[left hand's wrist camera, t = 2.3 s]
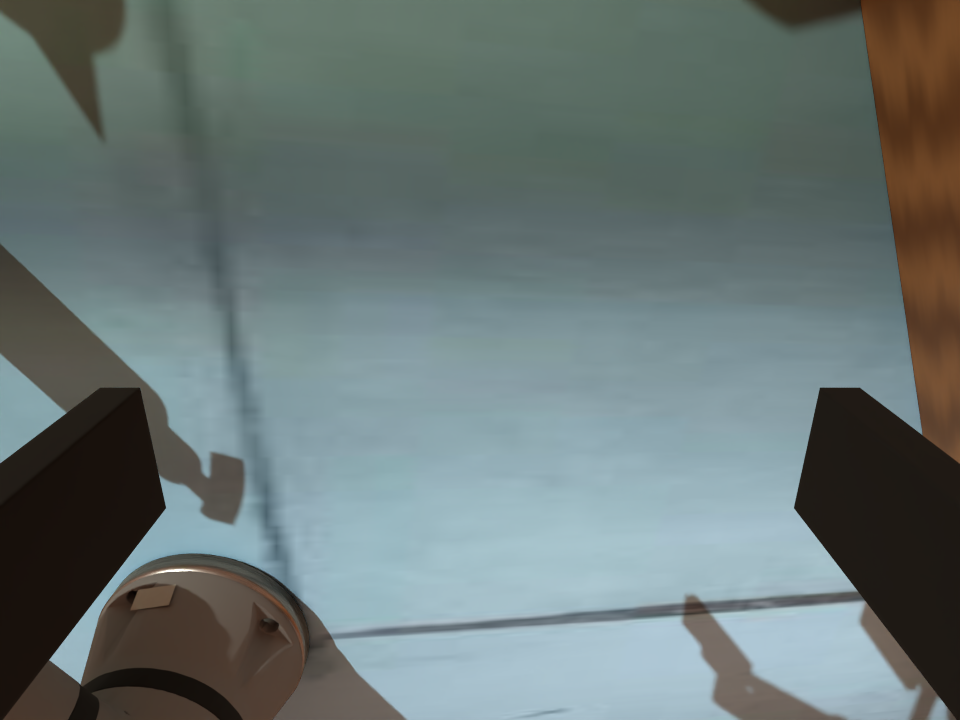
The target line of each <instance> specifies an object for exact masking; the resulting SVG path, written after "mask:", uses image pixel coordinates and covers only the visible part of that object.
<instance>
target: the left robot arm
mask: <svg viewBox="0 0 960 720" xmlns="http://www.w3.org/2000/svg"><path fill="white" fill-rule="evenodd" d="M165 509H166V506H165V501H164V496H163V492H162V487H161V483H160V478H159V473H158V469H157V464H156V459H155V455H154V450H153V446H152V441H151V436H150V432H149V427H148V423H147V418H146V413H145V409H144V404H143V399H142V395H141V390H140V388H99V389H98V390H97V391H95V392H94V393H93V394H91V395H90V396H89V397H87V398H86V399H85V400H84V401H82V402H81V403H80V404H78V405H77V406H76V407H74V408H73V409H72V410H70V411H69V412H68V413H66V414H65V415H64V416H62V417H61V418H60V419H58V420H57V421H56V422H54V423H53V424H52V425H51V426H49V427H48V428H47V429H45V430H44V431H43V432H41V433H40V434H39V435H37V436H36V437H35V438H33V439H32V440H31V441H29V442H28V443H27V444H25V445H24V446H23V447H21V448H20V449H19V450H17V451H16V452H15V453H14V454H12V455H11V456H10V457H8V458H7V459H6V460H4V461H3V462H2V463H0V720H272V719H273V718H274V717H275V716H276V714H277V713H278V712H279V710H280V709H281V708H282V706H283V705H284V704H285V702H286V701H287V700H288V699H289V697H290V696H291V695H292V693H293V692H294V691H295V689H296V687H297V686H298V683H299V681H300V679H301V676H302V672H303V669H304V666H305V663H306V659H307V656H308V652H309V631H308V627H307V624H306V621H305V618H304V616H303V614H302V612H301V610H300V608H299V607H298V605H297V603H296V602H295V601H294V599H293V598H292V597H291V596H290V595H289V593H288V592H287V591H286V590H285V589H284V588H283V587H281V586H280V585H279V584H278V583H277V582H276V581H274V580H273V579H271V578H270V577H269V576H267V575H266V574H264V573H262V572H261V571H259V570H257V569H255V568H253V567H251V566H249V565H246V564H244V563H241V562H239V561H236V560H233V559H229V558H225V557H221V556H215V555H208V554H179V555H172V556H167V557H163V558H159V559H157V560H154V561H151V562H149V563H147V564H145V565H143V566H141V567H139V568H138V569H136V570H135V571H133V572H132V573H131V574H129V575H128V576H127V577H126V578H125V579H124V580H123V582H122V583H121V584H120V585H119V587H118V588H117V589H116V591H115V592H114V593H113V595H112V596H111V597H110V599H109V600H108V601H107V603H106V604H105V606H104V608H103V609H102V611H101V614H100V616H99V619H98V623H97V627H96V630H95V634H94V638H93V641H92V645H91V648H90V652H89V656H88V659H87V663H86V667H85V670H84V674H83V677H82V681H81V685H80V684H79V683H78V682H77V681H76V680H74V679H73V678H72V677H70V676H69V675H68V674H66V673H65V672H64V671H63V670H61V669H60V668H59V667H57V666H56V665H55V664H53V663H52V662H51V661H50V660H49V659H50V658H51V657H52V655H53V654H54V653H55V652H56V650H57V649H58V648H59V646H60V645H61V644H62V642H63V641H64V640H65V639H66V637H67V636H68V635H69V633H70V632H71V631H72V629H73V628H74V627H75V626H76V624H77V623H78V622H79V620H80V619H81V618H82V616H83V615H84V614H85V613H86V611H87V610H88V609H89V607H90V606H91V605H92V603H93V602H94V601H95V600H96V598H97V597H98V596H99V594H100V593H101V592H102V590H103V589H104V588H105V587H106V585H107V584H108V583H109V581H110V580H111V579H112V577H113V576H114V575H115V574H116V572H117V571H118V570H119V568H120V567H121V566H122V565H123V563H124V562H125V561H126V559H127V558H128V557H129V555H130V554H131V553H132V552H133V550H134V549H135V548H136V546H137V545H138V544H139V542H140V541H141V540H142V539H143V537H144V536H145V535H146V533H147V532H148V531H149V529H150V528H151V527H152V526H153V524H154V523H155V522H156V520H157V519H158V518H159V516H160V515H161V514H162V513H163V511H164V510H165ZM794 509H795V510H796V511H797V513H798V514H799V515H800V516H801V518H802V519H803V520H804V522H805V523H806V524H807V526H808V527H809V528H810V529H811V531H812V532H813V533H814V535H815V536H816V537H817V539H818V540H819V541H820V542H821V544H822V545H823V546H824V548H825V549H826V550H827V552H828V553H829V554H830V555H831V557H832V558H833V559H834V561H835V562H836V563H837V565H838V566H839V567H840V568H841V570H842V571H843V572H844V574H845V575H846V576H847V577H848V579H849V580H850V581H851V583H852V584H853V585H854V587H855V588H856V589H857V590H858V592H859V593H860V594H861V596H862V597H863V598H864V600H865V601H866V602H867V603H868V605H869V606H870V607H871V609H872V610H873V611H874V613H875V614H876V615H877V616H878V618H879V619H880V620H881V622H882V623H883V624H884V626H885V627H886V628H887V629H888V631H889V632H890V633H891V635H892V636H893V637H894V639H895V640H896V641H897V642H898V644H899V645H900V646H901V648H902V649H903V650H904V652H905V653H906V654H907V655H908V657H909V658H910V659H911V661H912V662H913V663H914V664H915V666H916V667H917V668H918V670H919V671H920V672H921V674H922V675H923V676H924V677H925V679H926V680H927V681H928V683H929V684H930V685H931V687H932V688H933V689H934V690H935V692H936V693H937V694H938V696H939V697H940V698H941V700H942V701H943V702H944V703H945V705H946V706H947V707H948V709H949V710H950V711H951V713H952V714H953V715H954V716H955V718H956V719H957V720H960V463H958V462H957V461H956V460H954V459H953V458H952V457H950V456H949V455H948V454H946V453H945V452H944V451H943V450H941V449H940V448H939V447H937V446H936V445H935V444H933V443H932V442H931V441H929V440H928V439H927V438H925V437H924V436H923V435H921V434H920V433H919V432H917V431H916V430H915V429H913V428H912V427H911V426H909V425H908V424H907V423H906V422H904V421H903V420H902V419H900V418H899V417H898V416H896V415H895V414H894V413H892V412H891V411H890V410H888V409H887V408H886V407H884V406H883V405H882V404H880V403H879V402H878V401H876V400H875V399H874V398H873V397H871V396H870V395H869V394H867V393H866V392H865V391H863V390H862V389H861V388H820V390H819V395H818V399H817V404H816V409H815V413H814V418H813V423H812V427H811V432H810V436H809V441H808V446H807V450H806V455H805V459H804V464H803V469H802V473H801V478H800V483H799V487H798V492H797V496H796V501H795V506H794Z"/></svg>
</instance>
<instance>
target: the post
mask: <svg viewBox="0 0 960 720" xmlns="http://www.w3.org/2000/svg"><path fill="white" fill-rule="evenodd" d="M860 1H861V8H862V15H863V22H864V29H865V36H866V43H867V50H868V57H869V64H870V71H871V78H872V85H873V92H874V99H875V106H876V113H877V119H878V126H879V133H880V140H881V147H882V154H883V161H884V168H885V175H886V182H887V189H888V196H889V203H890V210H891V217H892V224H893V231H894V238H895V244H896V251H897V258H898V265H899V272H900V279H901V286H902V293H903V300H904V307H905V314H906V321H907V328H908V335H909V342H910V349H911V356H912V363H913V369H914V376H915V383H916V390H917V397H918V404H919V411H920V418H921V425H922V432H923V436H924V437H925V438H927V439H928V440H929V441H931V442H932V443H933V444H935V445H936V446H937V447H939V448H940V449H941V450H943V451H944V452H945V453H946V454H948V455H949V456H950V457H952V458H953V459H954V460H956V461H957V462H958V463H960V0H860Z"/></svg>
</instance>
